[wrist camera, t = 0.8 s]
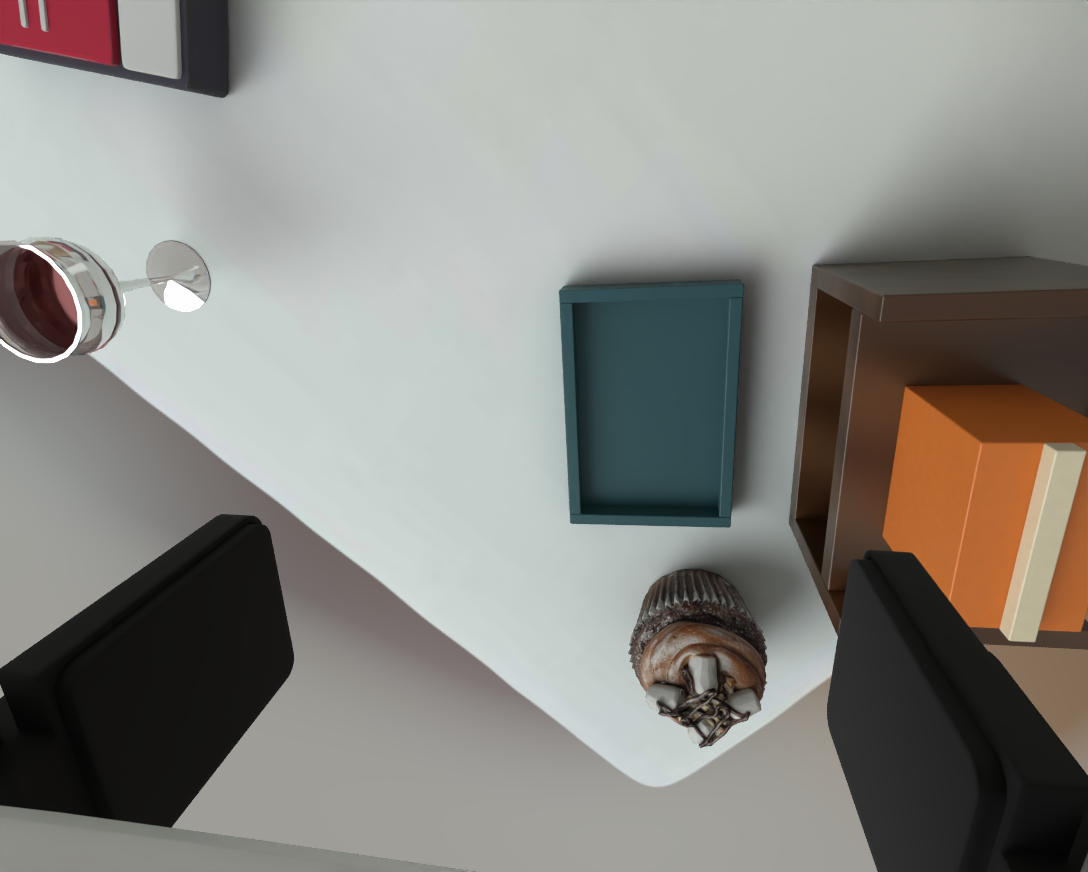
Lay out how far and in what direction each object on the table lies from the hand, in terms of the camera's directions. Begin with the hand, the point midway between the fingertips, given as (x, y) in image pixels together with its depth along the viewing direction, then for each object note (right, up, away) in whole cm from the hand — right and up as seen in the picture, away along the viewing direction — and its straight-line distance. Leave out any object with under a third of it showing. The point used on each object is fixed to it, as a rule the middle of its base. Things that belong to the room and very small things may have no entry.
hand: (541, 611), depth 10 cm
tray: (+7, +5, +33) cm, 34 cm away
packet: (+21, +1, +22) cm, 30 cm away
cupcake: (+12, -11, +39) cm, 42 cm away
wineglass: (-26, +14, +35) cm, 46 cm away
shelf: (+23, +5, +31) cm, 39 cm away
